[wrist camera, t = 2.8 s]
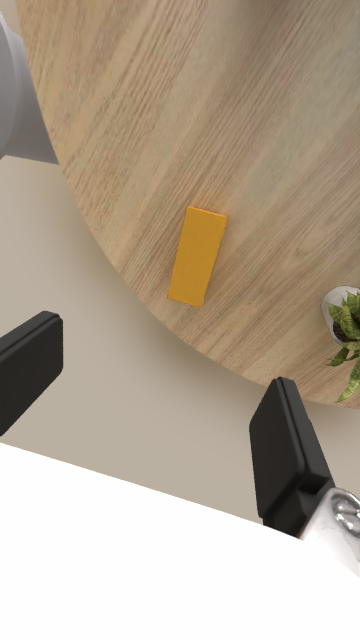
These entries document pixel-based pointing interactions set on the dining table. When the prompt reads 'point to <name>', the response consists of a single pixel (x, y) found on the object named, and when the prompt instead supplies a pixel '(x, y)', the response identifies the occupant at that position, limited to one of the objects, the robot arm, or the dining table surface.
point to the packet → (196, 255)
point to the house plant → (344, 329)
